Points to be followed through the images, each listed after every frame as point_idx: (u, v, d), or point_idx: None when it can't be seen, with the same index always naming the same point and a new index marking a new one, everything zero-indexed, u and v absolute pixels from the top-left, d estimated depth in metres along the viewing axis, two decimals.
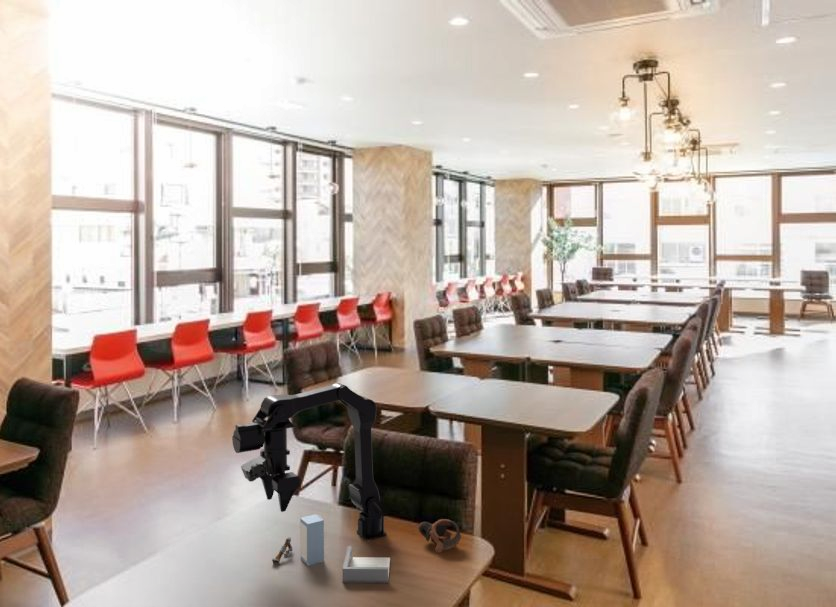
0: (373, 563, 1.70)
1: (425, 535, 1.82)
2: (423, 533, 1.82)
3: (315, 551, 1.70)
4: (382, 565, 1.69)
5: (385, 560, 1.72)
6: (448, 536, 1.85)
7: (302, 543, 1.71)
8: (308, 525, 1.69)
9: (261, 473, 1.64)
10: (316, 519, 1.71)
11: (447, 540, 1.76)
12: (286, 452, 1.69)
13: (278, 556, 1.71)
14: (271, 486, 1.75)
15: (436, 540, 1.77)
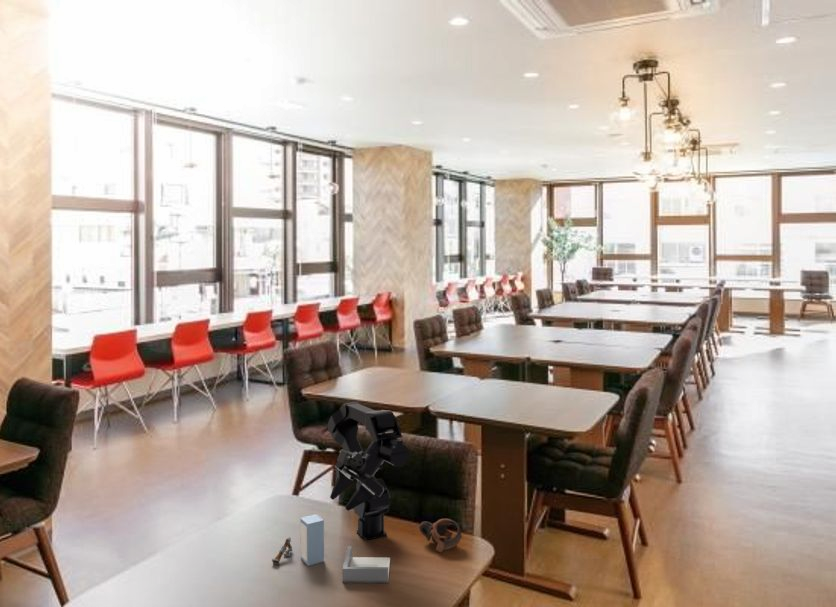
0: (373, 563, 1.70)
1: (426, 535, 1.82)
2: (424, 533, 1.83)
3: (315, 551, 1.70)
4: (382, 565, 1.69)
5: (385, 560, 1.72)
6: (449, 535, 1.86)
7: (302, 543, 1.71)
8: (308, 525, 1.69)
9: (358, 463, 1.72)
10: (316, 519, 1.71)
11: (448, 539, 1.76)
12: (380, 466, 1.78)
13: (278, 556, 1.71)
14: (340, 489, 1.80)
15: (437, 539, 1.77)
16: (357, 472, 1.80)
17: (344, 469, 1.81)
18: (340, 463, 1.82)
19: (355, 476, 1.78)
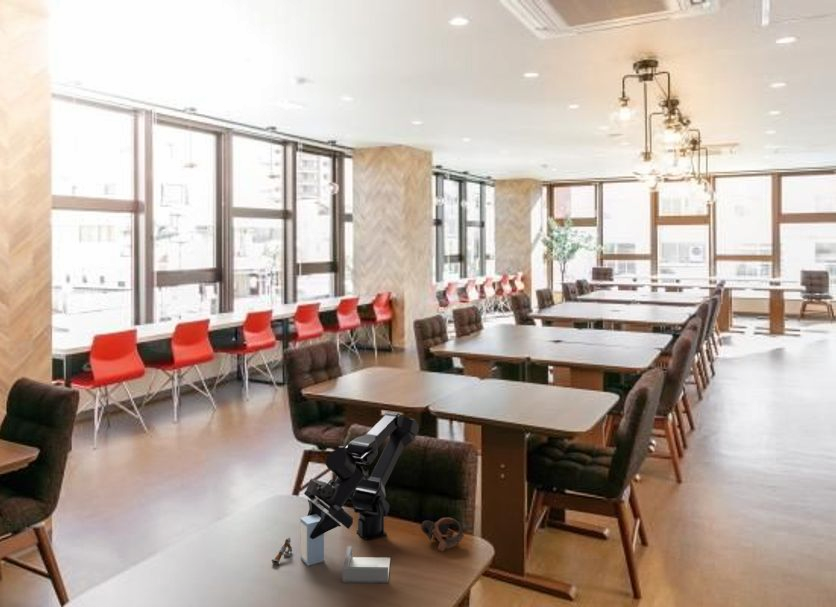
0: (373, 563, 1.70)
1: (428, 533, 1.83)
2: (426, 531, 1.83)
3: (315, 550, 1.70)
4: (382, 565, 1.69)
5: (385, 560, 1.72)
6: (450, 534, 1.86)
7: (302, 543, 1.71)
8: (308, 525, 1.69)
9: (328, 493, 1.69)
10: (316, 519, 1.71)
11: (450, 538, 1.77)
12: (351, 495, 1.75)
13: (278, 556, 1.71)
14: None
15: (439, 538, 1.78)
16: (327, 501, 1.76)
17: None
18: (309, 491, 1.78)
19: (324, 506, 1.74)
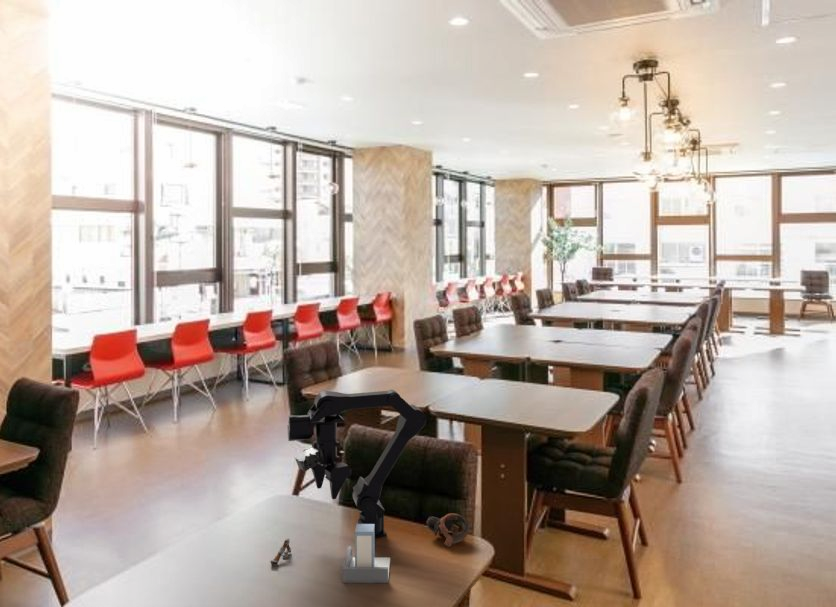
0: None
1: (433, 530, 1.86)
2: (431, 528, 1.86)
3: None
4: (382, 565, 1.69)
5: (385, 560, 1.72)
6: (455, 530, 1.89)
7: (361, 556, 1.63)
8: (373, 533, 1.63)
9: (315, 463, 1.76)
10: (369, 526, 1.66)
11: (456, 534, 1.80)
12: (336, 444, 1.81)
13: (276, 557, 1.70)
14: (321, 476, 1.87)
15: (445, 534, 1.80)
16: None
17: None
18: None
19: (323, 464, 1.83)
